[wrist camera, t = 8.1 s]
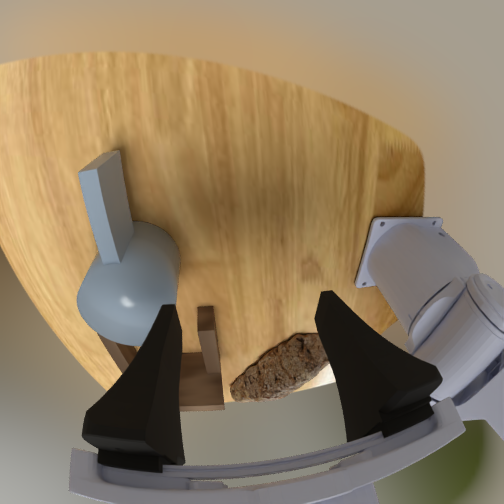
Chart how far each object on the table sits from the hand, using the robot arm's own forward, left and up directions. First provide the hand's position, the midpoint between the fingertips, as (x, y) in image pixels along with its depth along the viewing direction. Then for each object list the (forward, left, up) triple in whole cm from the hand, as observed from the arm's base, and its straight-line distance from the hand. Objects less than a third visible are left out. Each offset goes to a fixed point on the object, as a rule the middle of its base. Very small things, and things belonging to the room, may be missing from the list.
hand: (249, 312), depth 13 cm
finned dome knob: (+8, 0, -10) cm, 12 cm away
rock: (-6, +22, -10) cm, 25 cm away
